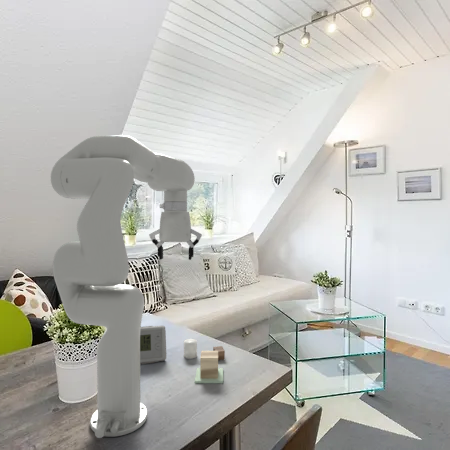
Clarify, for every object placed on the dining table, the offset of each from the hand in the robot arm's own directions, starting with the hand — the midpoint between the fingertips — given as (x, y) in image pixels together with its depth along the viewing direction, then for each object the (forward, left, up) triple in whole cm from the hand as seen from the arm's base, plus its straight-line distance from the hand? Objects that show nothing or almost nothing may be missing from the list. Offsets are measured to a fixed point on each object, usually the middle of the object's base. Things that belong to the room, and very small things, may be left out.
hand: (175, 259), depth 114 cm
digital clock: (-5, +11, -33) cm, 35 cm away
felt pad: (-15, -12, -32) cm, 38 cm away
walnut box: (-2, -14, -32) cm, 36 cm away
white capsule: (-1, -5, -32) cm, 33 cm away
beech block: (-15, -12, -32) cm, 37 cm away
